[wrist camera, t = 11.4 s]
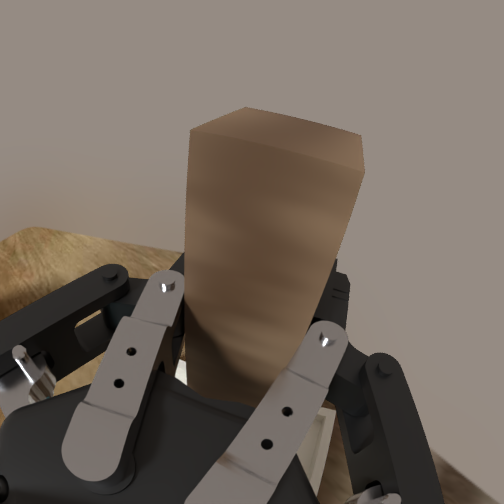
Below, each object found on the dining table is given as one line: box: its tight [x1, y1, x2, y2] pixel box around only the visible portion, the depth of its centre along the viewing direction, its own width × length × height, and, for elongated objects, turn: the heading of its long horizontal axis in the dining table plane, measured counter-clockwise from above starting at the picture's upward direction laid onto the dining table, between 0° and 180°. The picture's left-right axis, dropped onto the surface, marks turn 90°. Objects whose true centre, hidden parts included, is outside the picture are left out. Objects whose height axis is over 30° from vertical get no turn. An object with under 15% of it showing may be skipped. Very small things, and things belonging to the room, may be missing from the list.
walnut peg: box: [184, 107, 365, 408], centre depth 14 cm, size 4×4×22 cm
